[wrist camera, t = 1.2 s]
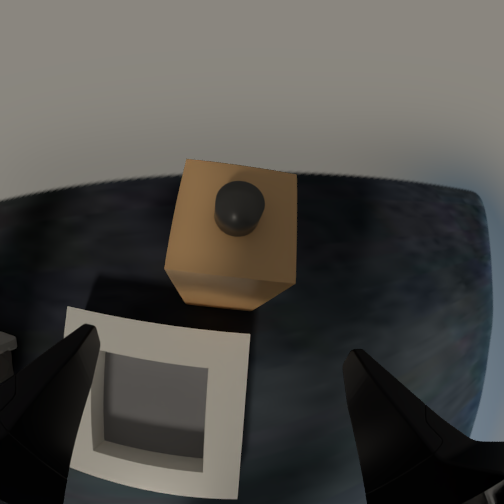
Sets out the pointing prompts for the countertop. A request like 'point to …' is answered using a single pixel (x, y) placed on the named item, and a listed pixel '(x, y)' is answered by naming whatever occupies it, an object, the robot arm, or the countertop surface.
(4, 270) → the countertop surface
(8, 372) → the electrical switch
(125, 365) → the socket block
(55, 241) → the countertop surface
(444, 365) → the countertop surface
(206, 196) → the plug
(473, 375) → the countertop surface
